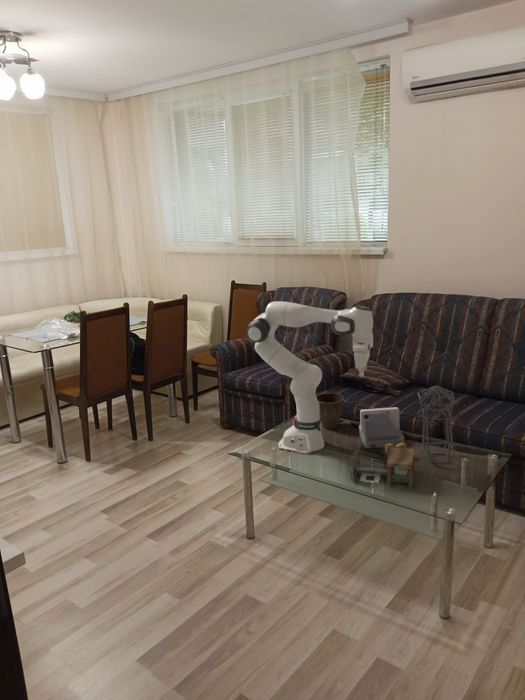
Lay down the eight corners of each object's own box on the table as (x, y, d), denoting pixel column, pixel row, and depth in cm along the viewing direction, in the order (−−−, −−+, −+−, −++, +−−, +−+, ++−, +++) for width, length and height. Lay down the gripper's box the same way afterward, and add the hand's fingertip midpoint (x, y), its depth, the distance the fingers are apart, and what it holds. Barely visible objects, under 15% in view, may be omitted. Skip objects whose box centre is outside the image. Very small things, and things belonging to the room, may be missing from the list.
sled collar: (349, 481, 238) (349, 464, 236) (355, 466, 251) (354, 450, 249) (409, 487, 230) (409, 470, 228) (412, 471, 243) (412, 454, 241)
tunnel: (387, 485, 233) (386, 462, 230) (390, 469, 246) (390, 447, 243) (412, 488, 230) (412, 464, 227) (414, 471, 243) (414, 449, 240)
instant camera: (401, 431, 285) (401, 403, 281) (405, 448, 265) (405, 419, 261) (358, 431, 288) (358, 403, 284) (360, 448, 268) (359, 419, 264)
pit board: (359, 481, 238) (359, 480, 237) (363, 468, 249) (363, 467, 248) (378, 483, 235) (378, 482, 235) (382, 470, 246) (382, 468, 246)
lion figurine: (390, 465, 250) (390, 446, 248) (381, 461, 254) (381, 443, 252) (412, 455, 258) (412, 436, 256) (402, 451, 262) (402, 433, 260)
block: (394, 481, 236) (394, 470, 235) (395, 475, 241) (395, 464, 240) (406, 482, 235) (406, 471, 234) (407, 476, 239) (407, 465, 238)
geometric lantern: (457, 467, 244) (458, 391, 235) (420, 467, 247) (418, 392, 238) (453, 451, 259) (453, 379, 249) (418, 450, 262) (416, 380, 253)
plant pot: (330, 418, 306) (329, 390, 302) (350, 426, 295) (349, 397, 290) (310, 426, 298) (308, 397, 294) (329, 434, 286) (328, 405, 282)
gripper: (358, 336, 256) (359, 365, 260) (352, 348, 237) (352, 379, 241) (372, 336, 254) (372, 366, 258) (367, 349, 235) (367, 380, 239)
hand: (363, 372), depth 249 cm, fingers open, 8 cm apart
